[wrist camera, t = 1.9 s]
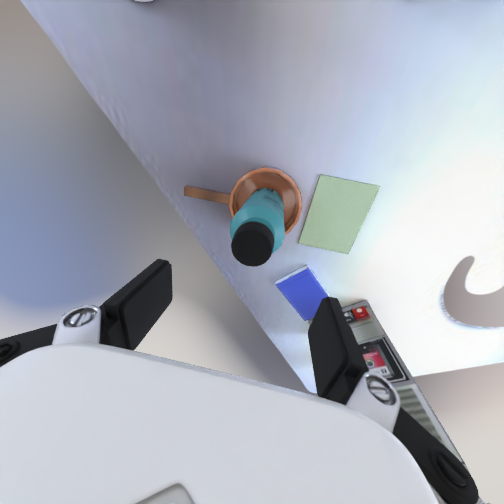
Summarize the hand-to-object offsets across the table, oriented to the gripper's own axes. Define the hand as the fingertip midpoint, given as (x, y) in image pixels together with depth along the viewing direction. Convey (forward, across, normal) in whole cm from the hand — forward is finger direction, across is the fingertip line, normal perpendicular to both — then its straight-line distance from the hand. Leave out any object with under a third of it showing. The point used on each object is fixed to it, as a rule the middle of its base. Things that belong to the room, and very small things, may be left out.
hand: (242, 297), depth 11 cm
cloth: (+27, -13, 0) cm, 29 cm away
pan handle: (+24, +10, 0) cm, 26 cm away
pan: (+26, 0, 0) cm, 27 cm away
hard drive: (+27, -12, +18) cm, 35 cm away
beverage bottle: (+26, 0, 0) cm, 27 cm away
